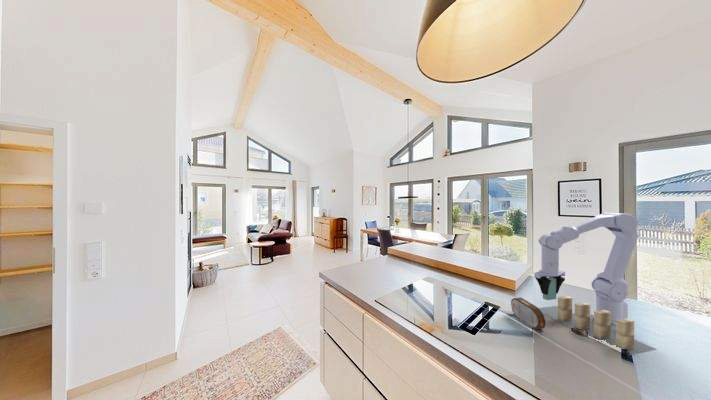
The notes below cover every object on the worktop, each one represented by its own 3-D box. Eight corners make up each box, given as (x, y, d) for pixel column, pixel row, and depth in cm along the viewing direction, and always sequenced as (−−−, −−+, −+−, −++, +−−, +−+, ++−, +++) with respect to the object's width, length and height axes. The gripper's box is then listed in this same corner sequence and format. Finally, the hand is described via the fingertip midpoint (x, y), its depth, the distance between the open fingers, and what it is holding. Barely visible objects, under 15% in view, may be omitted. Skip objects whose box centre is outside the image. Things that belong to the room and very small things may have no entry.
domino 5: (626, 344, 78) (626, 318, 77) (634, 348, 76) (634, 320, 76) (615, 346, 76) (616, 319, 76) (623, 350, 75) (623, 322, 75)
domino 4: (604, 334, 83) (604, 309, 83) (610, 337, 82) (610, 312, 82) (593, 336, 82) (593, 311, 82) (600, 339, 81) (600, 313, 80)
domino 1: (551, 297, 101) (552, 277, 101) (556, 299, 99) (556, 278, 99) (542, 298, 100) (543, 277, 100) (547, 300, 98) (547, 279, 98)
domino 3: (584, 325, 89) (584, 302, 89) (589, 327, 87) (590, 304, 87) (574, 326, 88) (574, 303, 88) (580, 329, 86) (580, 305, 86)
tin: (546, 333, 84) (546, 311, 84) (538, 334, 84) (538, 311, 84) (516, 313, 100) (516, 294, 99) (509, 313, 99) (509, 294, 99)
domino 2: (567, 317, 95) (567, 295, 95) (572, 319, 93) (572, 297, 93) (557, 318, 94) (557, 297, 94) (562, 321, 92) (562, 298, 92)
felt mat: (555, 306, 105) (555, 305, 105) (657, 350, 75) (657, 349, 75) (531, 309, 102) (531, 309, 102) (626, 356, 72) (626, 355, 72)
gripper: (553, 258, 105) (553, 288, 105) (527, 260, 102) (527, 290, 102) (570, 263, 98) (570, 294, 98) (543, 265, 95) (543, 297, 95)
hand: (549, 293), depth 99 cm, fingers closed on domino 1, 5 cm apart
